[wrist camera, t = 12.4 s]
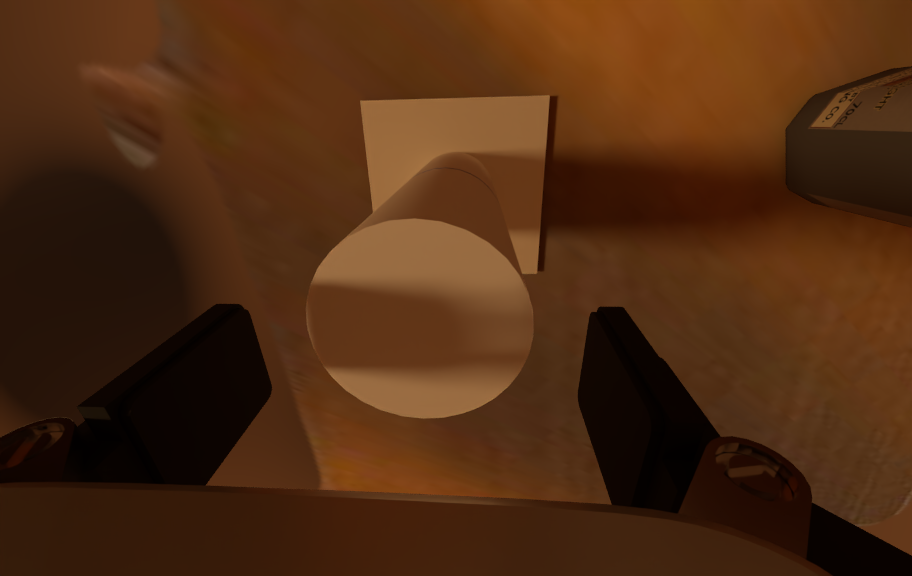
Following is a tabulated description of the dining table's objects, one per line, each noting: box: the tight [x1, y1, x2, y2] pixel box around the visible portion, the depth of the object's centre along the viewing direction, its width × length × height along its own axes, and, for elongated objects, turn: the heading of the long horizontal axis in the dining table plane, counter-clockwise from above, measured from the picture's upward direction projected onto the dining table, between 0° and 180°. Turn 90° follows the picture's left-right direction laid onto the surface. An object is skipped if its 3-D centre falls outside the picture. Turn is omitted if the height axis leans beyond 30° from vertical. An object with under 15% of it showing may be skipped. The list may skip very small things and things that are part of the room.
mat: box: [360, 95, 550, 274], centre depth 35 cm, size 16×16×1 cm
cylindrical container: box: [306, 152, 534, 418], centre depth 23 cm, size 7×7×25 cm
